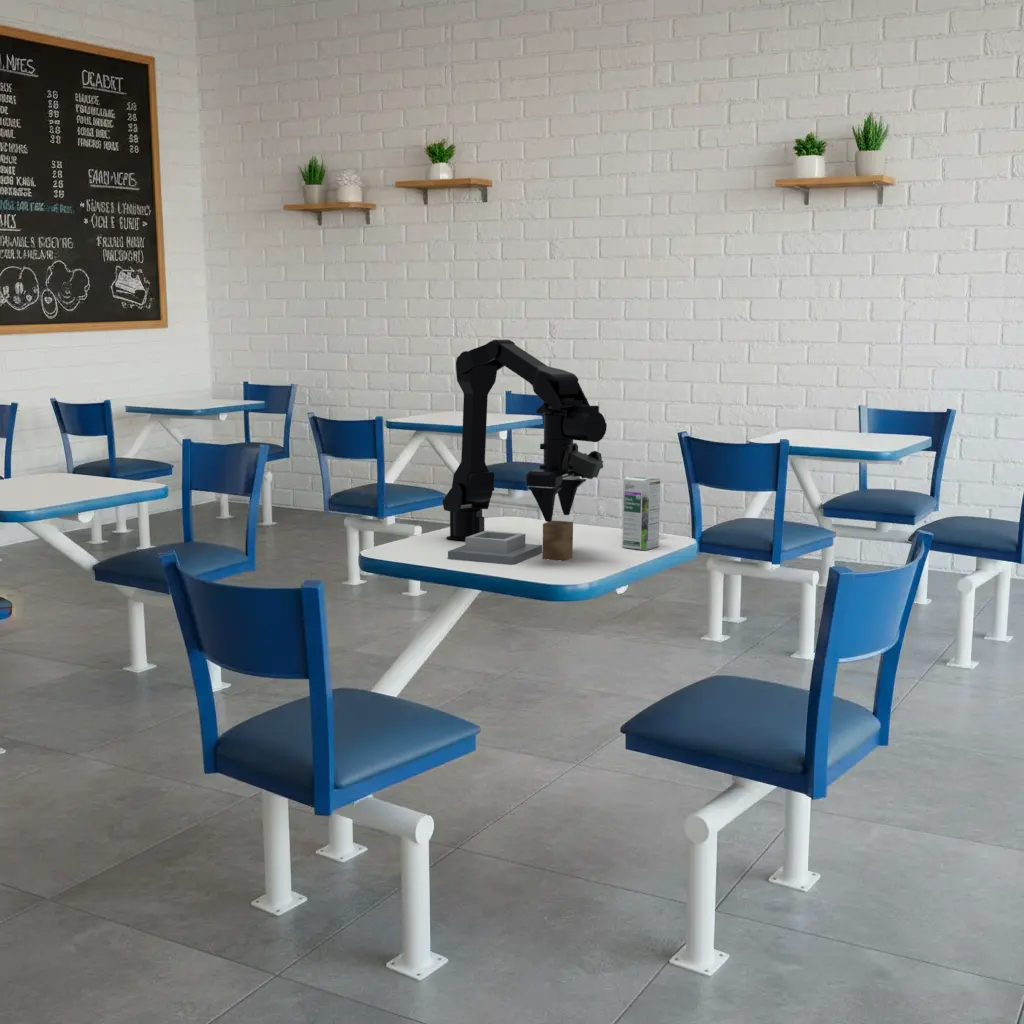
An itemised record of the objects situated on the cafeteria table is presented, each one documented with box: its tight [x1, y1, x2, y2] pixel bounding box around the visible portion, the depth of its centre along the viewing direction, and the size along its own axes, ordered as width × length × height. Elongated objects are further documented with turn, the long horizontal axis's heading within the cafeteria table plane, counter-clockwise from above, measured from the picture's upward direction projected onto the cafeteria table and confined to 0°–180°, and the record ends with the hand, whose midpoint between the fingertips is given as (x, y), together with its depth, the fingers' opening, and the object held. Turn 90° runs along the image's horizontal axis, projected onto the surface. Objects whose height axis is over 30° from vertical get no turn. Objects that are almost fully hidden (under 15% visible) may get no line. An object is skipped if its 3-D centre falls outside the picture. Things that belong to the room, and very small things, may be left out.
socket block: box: [447, 530, 543, 565], centre depth 240 cm, size 14×14×4 cm
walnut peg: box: [542, 520, 574, 562], centre depth 238 cm, size 4×4×7 cm
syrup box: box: [621, 475, 661, 551], centre depth 249 cm, size 6×6×14 cm
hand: (557, 518), depth 237 cm, fingers open, 9 cm apart
